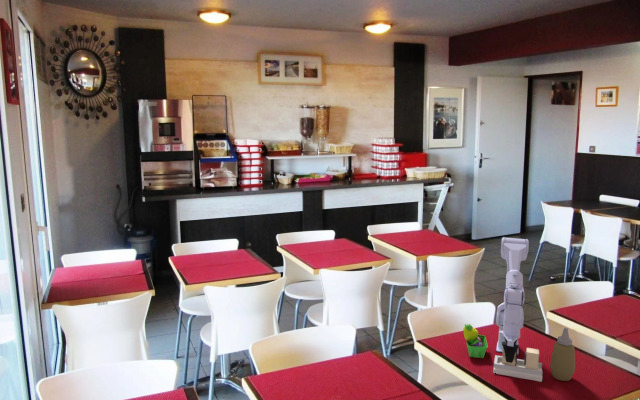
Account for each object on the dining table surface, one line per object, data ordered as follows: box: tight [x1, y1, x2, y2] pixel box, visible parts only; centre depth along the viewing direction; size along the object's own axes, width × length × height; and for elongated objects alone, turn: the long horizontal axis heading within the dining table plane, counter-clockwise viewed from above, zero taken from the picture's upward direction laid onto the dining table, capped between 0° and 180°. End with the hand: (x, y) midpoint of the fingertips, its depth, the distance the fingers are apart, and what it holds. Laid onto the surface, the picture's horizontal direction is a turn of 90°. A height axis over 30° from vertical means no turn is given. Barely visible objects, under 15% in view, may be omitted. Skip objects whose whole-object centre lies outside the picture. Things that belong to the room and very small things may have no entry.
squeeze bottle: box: [549, 327, 576, 382], centre depth 184 cm, size 8×8×18 cm
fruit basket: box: [462, 323, 489, 359], centre depth 204 cm, size 11×9×11 cm
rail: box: [492, 347, 543, 383], centre depth 189 cm, size 10×16×8 cm, turn 69°
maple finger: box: [501, 348, 519, 366], centre depth 190 cm, size 4×5×7 cm
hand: (509, 357), depth 190 cm, fingers open, 7 cm apart
